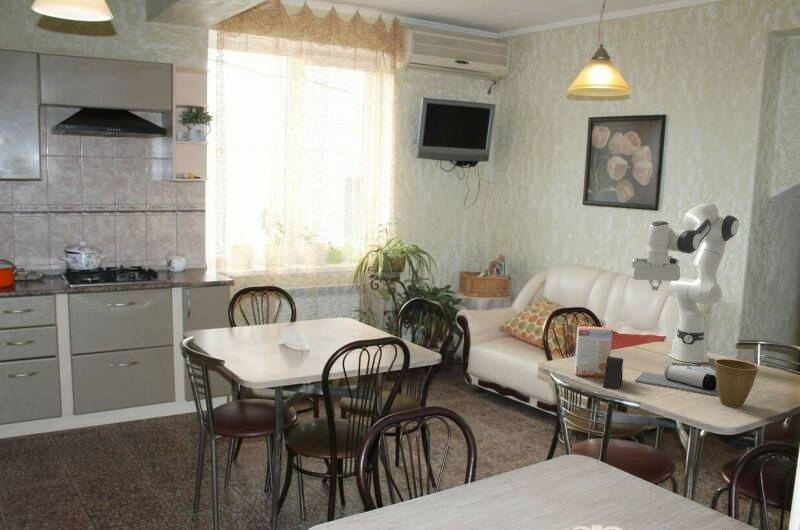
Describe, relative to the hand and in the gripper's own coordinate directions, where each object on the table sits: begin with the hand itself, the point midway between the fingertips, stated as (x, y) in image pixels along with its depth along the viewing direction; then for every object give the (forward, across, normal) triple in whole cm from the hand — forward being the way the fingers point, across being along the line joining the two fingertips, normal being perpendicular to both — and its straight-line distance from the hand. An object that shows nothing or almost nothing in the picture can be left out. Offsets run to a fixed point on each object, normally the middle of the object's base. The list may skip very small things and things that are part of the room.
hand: (654, 290), depth 307 cm
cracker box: (+36, -28, -10) cm, 47 cm away
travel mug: (+33, +4, -12) cm, 35 cm away
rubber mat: (+37, +7, -18) cm, 41 cm away
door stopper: (+36, -23, -25) cm, 50 cm away
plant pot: (+37, +18, -43) cm, 59 cm away
